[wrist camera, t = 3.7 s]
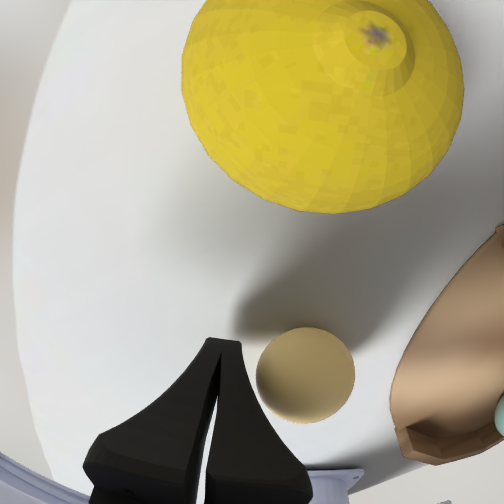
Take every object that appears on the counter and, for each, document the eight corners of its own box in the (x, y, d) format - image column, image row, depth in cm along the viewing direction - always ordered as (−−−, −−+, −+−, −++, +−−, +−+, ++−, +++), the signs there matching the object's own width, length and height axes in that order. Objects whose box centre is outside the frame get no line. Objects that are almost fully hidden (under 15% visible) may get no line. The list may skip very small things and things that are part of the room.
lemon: (381, 45, 9) (538, -27, 1) (359, 188, 11) (497, 309, 3) (227, 17, 8) (161, -132, 1) (207, 164, 11) (89, 259, 3)
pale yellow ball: (331, 377, 14) (343, 441, 11) (251, 371, 14) (247, 438, 11) (355, 312, 13) (381, 378, 9) (264, 303, 13) (263, 371, 9)
